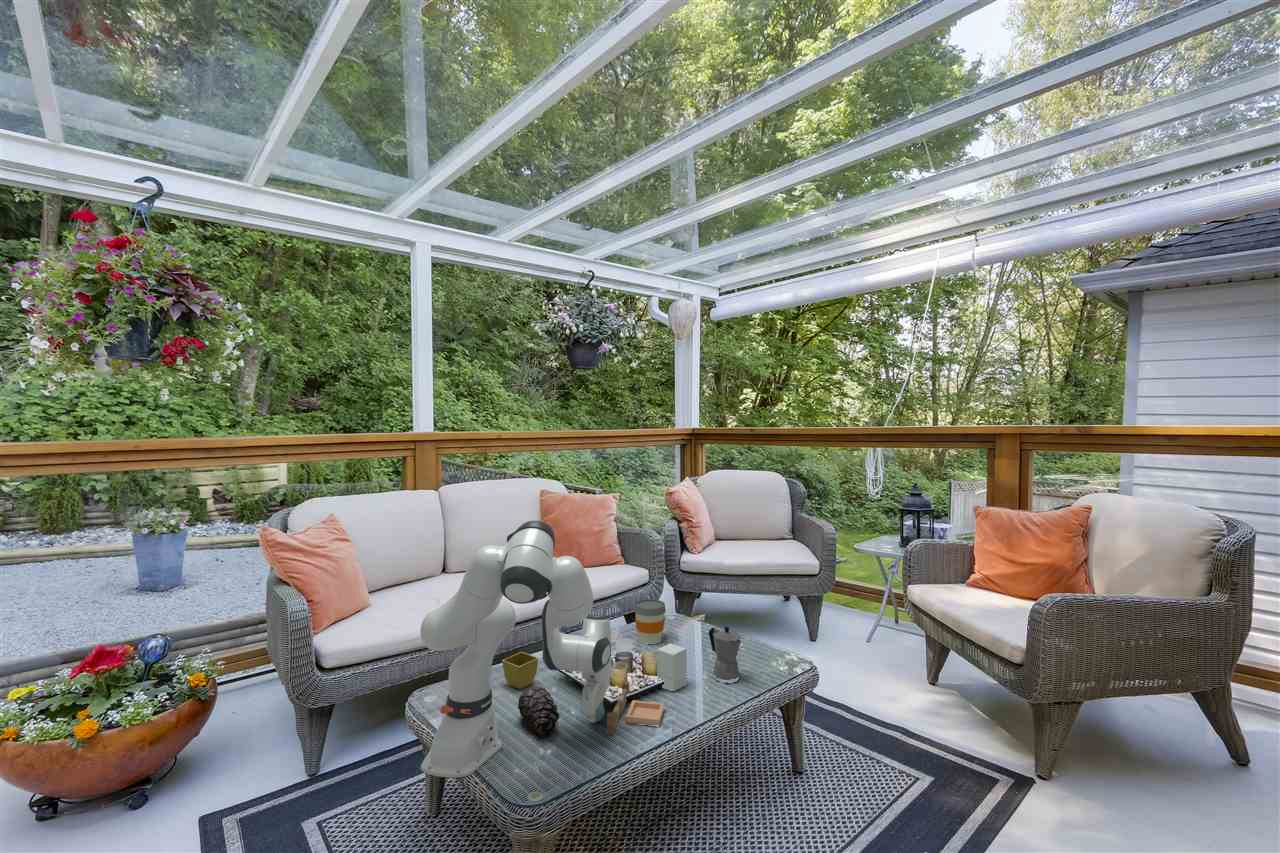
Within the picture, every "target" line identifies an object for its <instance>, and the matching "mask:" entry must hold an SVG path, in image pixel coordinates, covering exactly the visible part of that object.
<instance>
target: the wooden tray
mask: <svg viewBox="0 0 1280 853" xmlns="http://www.w3.org/2000/svg"><path fill="white" fill-rule="evenodd" d="M663 712H665V703H663V702H652V701H644V700H643V701H642V700H635V699H633V700H632V701H631V702H630V706H629V708H628V710H627V712H626V715H625V724H626V725H632V724H645V725H659V724H660V725H661V723H660V721H662V720H661V718H662V719H663V716H664V713H663ZM662 715H663V716H662Z"/></svg>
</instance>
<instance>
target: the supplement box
mask: <svg viewBox="0 0 1280 853" xmlns="http://www.w3.org/2000/svg"><path fill="white" fill-rule="evenodd" d="M656 655H657V656H656V660H657V662H656V663H657V664H656V666H657V667H656V668H657V669H656V670H657V671H656V677H658V678H660V679H663V680H664V684H663V685H662V688H661V689H664V690H666V689H667V690H666V691H669V690H670V691H669V692H671V691H675V690H677V689H678V688H681V687H682V686H684V685H686V686H687V648H686V647H682V646H679V645H678V644H677V645H676V644H674V643H668V644H666V645H664V646H662V647H661V646H660V647H659V648H657V649H656ZM681 689H682V688H681ZM677 691H678V690H677ZM675 692H676V691H675Z"/></svg>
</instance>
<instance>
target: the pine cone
mask: <svg viewBox="0 0 1280 853" xmlns="http://www.w3.org/2000/svg"><path fill="white" fill-rule="evenodd" d="M517 709H518V711H519V713H520V717H521V721H522V722H521V723H522V725H523V726H524V727H525V729H526V731H528V732H529V733H530V734H531V735H532V736H533V737H535V738H536V739H537V740H538V741H542V742H545V739H546V740H547V739H550V738H551V737H553V735H554V733H555V728H556V724H557V721H558V720H559V719H560V717H561V716H560V713H559V712H558V706H557V704H555V701H554V698H552V696H551V693H550V692H549V691H548V690H546V688H545V687H541V686H538V685H537V686H536V685H535V686H531V687H529V688H526V689H525V690H524V691H522V693H521V695H519V698H518V704H517Z"/></svg>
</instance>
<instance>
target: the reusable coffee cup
mask: <svg viewBox="0 0 1280 853" xmlns="http://www.w3.org/2000/svg"><path fill="white" fill-rule="evenodd" d="M634 612H635V617H634V620H635V628H636V631H637V636H638V637H637V638H638V641H639V640H640V641H641V642H643V643H648V644H656V643H659V642H660V643H661V642H662V636H663V631H664V629H665V628H664V627H665V622H666V621H665V620H666V617H665V613H666V612H667V609H666V603H665V602H664V601H662V600H659V599H651V598H649V599H641V600H637V601H635V604H634ZM660 643H659V644H660Z"/></svg>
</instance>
